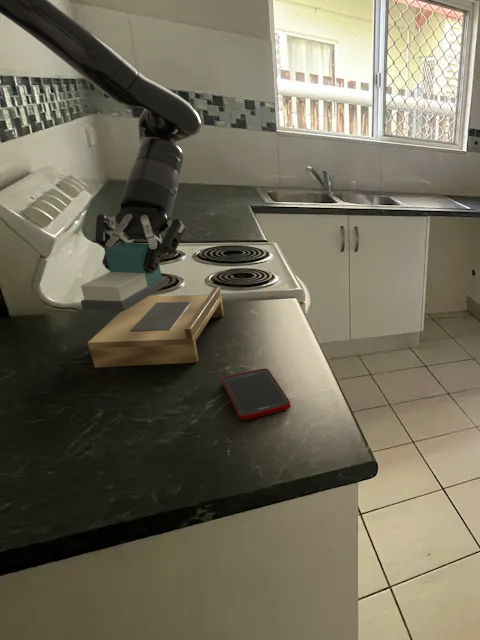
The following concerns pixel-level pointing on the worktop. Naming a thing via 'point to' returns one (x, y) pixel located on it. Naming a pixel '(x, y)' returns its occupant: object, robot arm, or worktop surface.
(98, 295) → the trainer
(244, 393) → the cell phone
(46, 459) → the worktop surface
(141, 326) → the shoe shelf
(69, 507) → the worktop surface
